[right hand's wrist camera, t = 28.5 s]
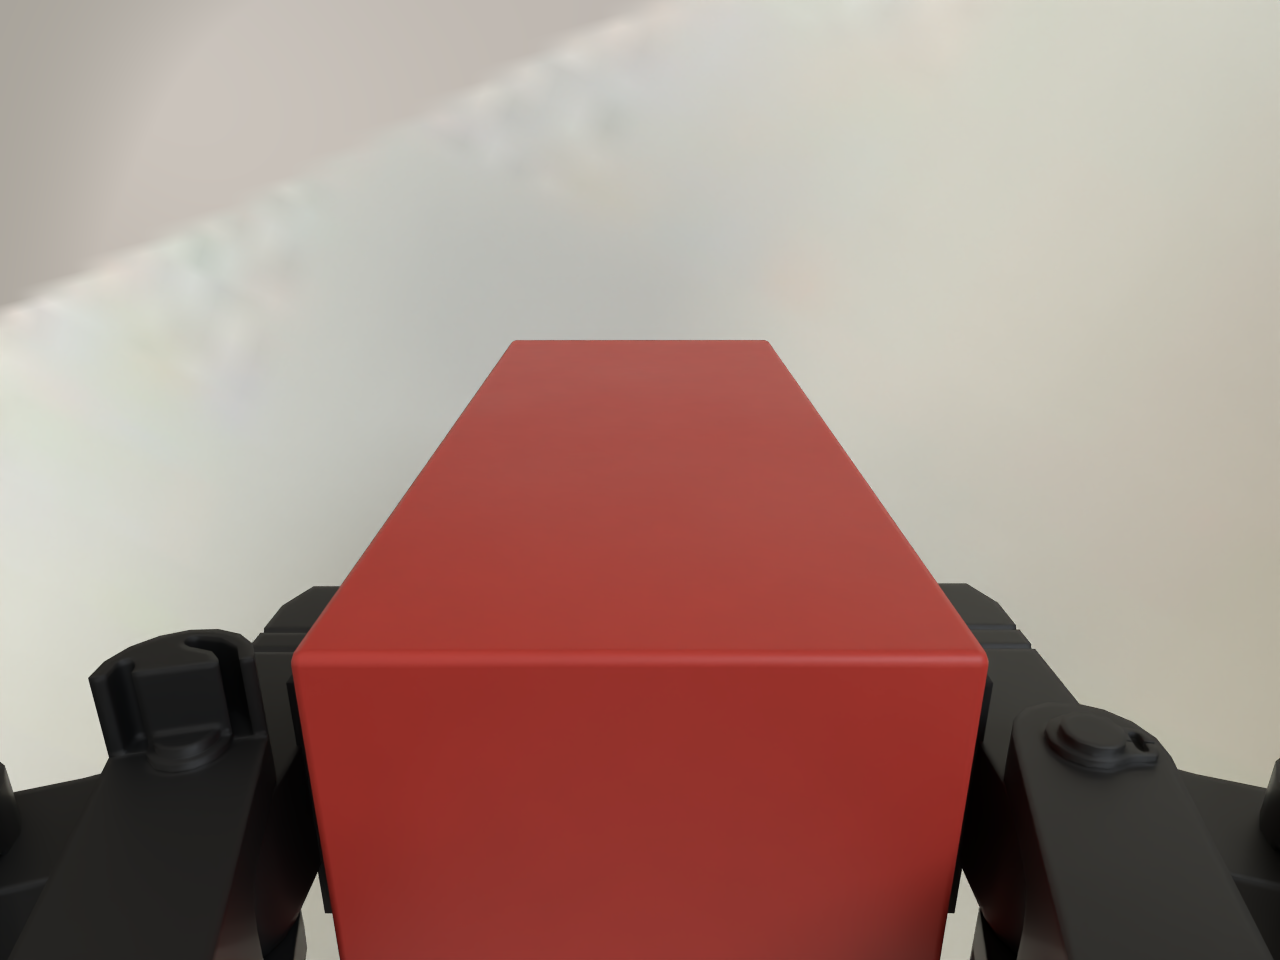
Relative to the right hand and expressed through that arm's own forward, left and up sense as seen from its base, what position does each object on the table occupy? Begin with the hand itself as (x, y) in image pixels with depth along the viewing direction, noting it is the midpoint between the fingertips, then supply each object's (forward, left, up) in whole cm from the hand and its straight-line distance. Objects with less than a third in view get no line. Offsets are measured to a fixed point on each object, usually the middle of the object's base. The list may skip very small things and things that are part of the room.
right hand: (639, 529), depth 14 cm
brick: (0, 0, -3) cm, 3 cm away
